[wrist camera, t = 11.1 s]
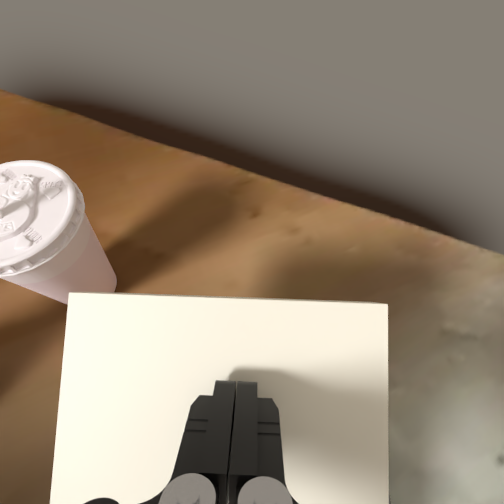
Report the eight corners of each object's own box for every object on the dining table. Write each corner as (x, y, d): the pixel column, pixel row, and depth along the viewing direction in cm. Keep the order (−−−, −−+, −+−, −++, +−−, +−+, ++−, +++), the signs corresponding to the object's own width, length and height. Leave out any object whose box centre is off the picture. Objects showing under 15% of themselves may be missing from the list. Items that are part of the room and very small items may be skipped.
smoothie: (27, 314, 23) (-228, 184, 11) (74, 239, 26) (-83, 67, 13) (111, 339, 22) (-57, 230, 10) (149, 258, 25) (57, 97, 13)
